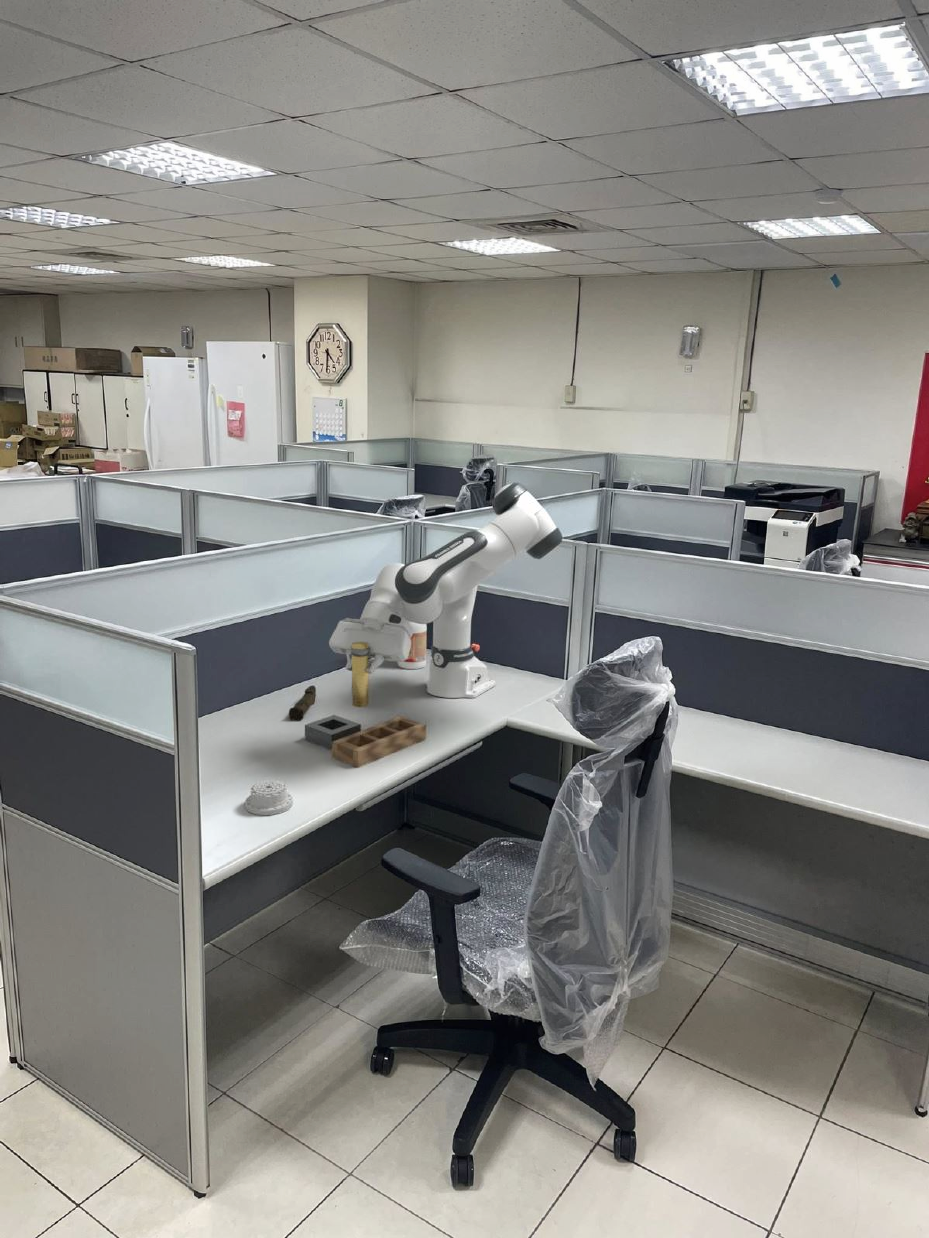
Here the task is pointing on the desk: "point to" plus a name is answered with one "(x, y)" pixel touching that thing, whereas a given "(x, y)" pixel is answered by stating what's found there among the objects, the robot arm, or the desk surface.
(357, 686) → the gold capped cylinder
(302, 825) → the desk surface
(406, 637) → the robot arm
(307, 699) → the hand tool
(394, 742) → the wooden compartment tray
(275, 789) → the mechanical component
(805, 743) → the desk surface
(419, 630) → the fruit juice
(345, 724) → the socket block
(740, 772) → the desk surface
